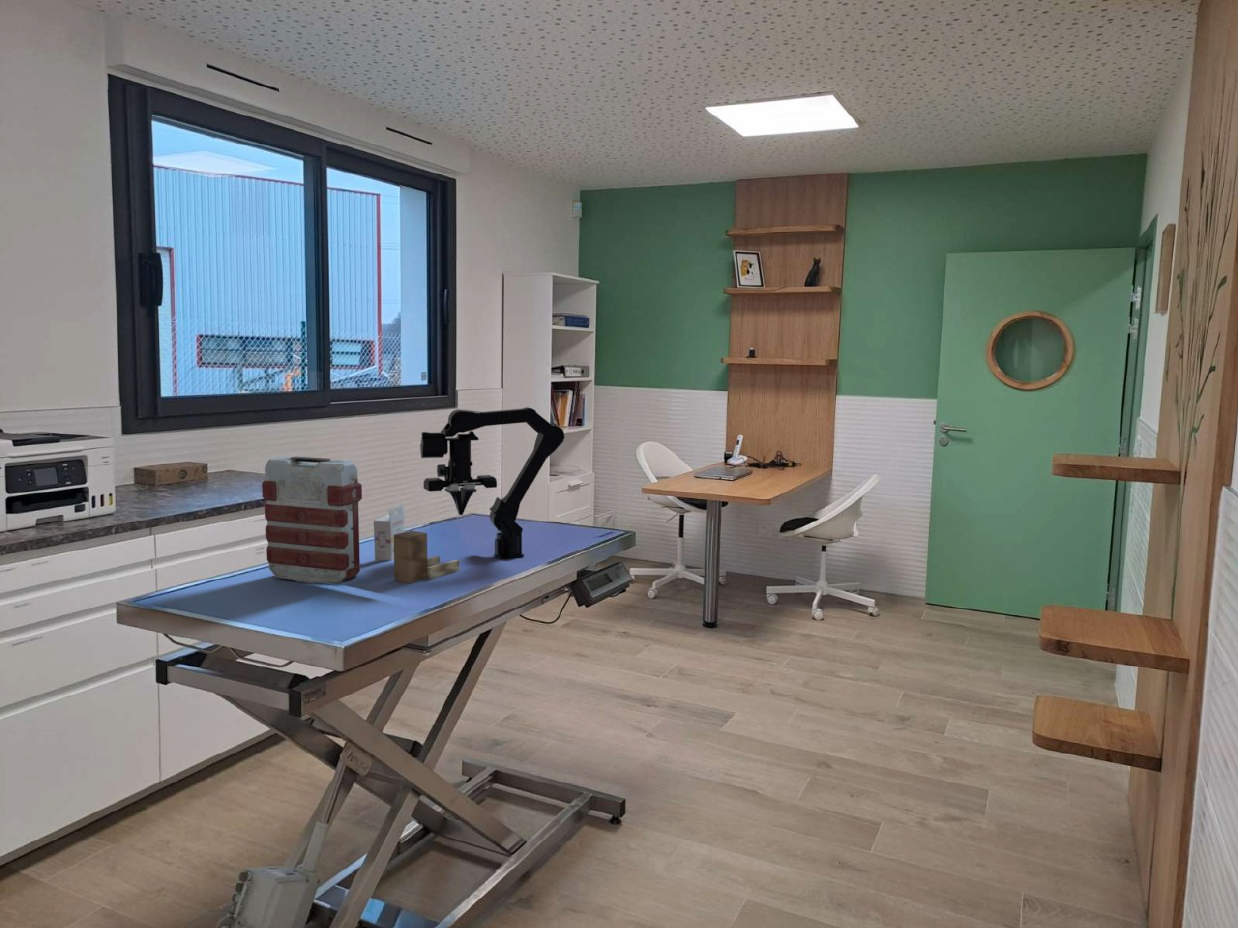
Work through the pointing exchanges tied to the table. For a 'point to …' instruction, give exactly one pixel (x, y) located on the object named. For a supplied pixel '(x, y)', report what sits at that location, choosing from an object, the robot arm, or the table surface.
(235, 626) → the table surface
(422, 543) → the block
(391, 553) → the ink cartridge box
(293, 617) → the table surface
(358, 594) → the table surface
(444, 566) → the chute
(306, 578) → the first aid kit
